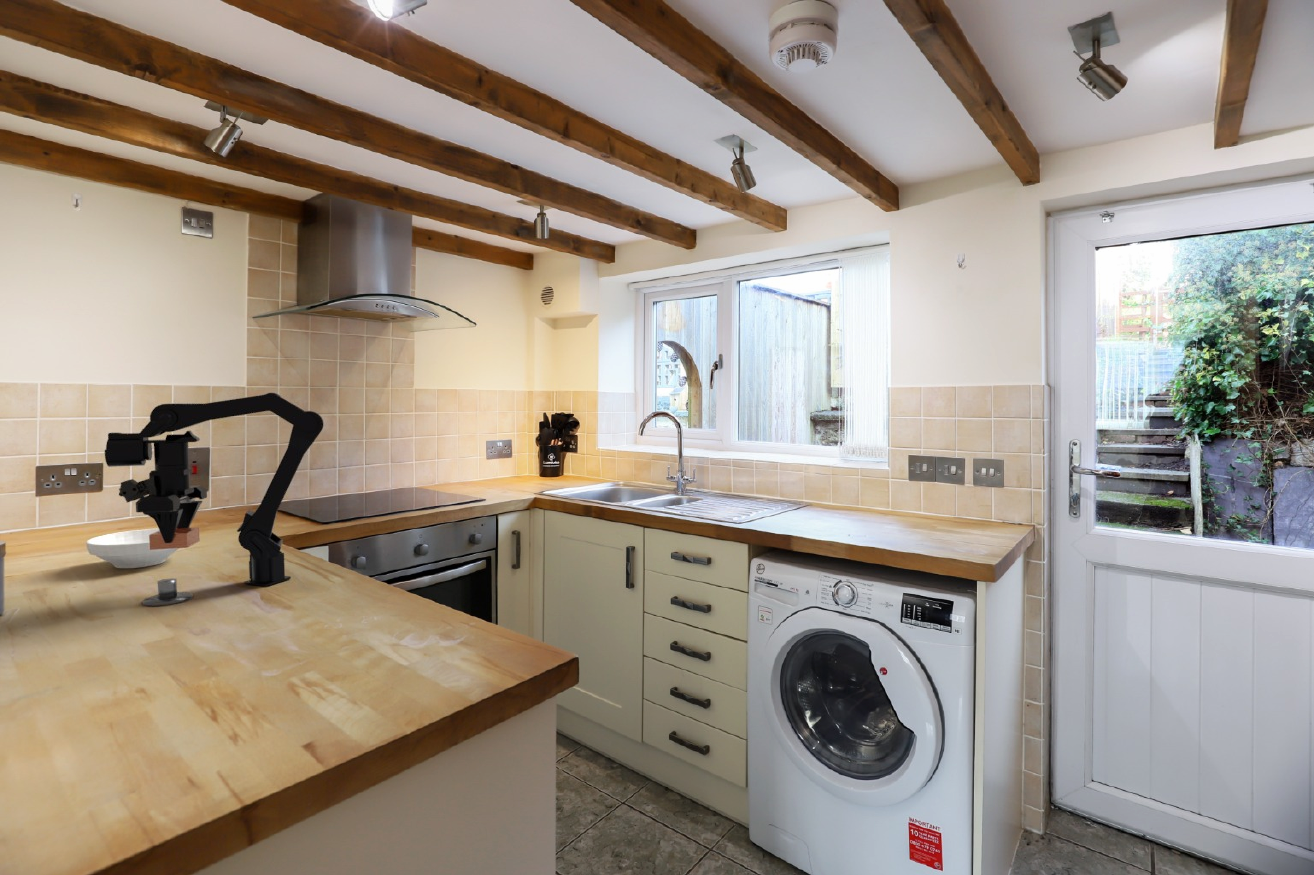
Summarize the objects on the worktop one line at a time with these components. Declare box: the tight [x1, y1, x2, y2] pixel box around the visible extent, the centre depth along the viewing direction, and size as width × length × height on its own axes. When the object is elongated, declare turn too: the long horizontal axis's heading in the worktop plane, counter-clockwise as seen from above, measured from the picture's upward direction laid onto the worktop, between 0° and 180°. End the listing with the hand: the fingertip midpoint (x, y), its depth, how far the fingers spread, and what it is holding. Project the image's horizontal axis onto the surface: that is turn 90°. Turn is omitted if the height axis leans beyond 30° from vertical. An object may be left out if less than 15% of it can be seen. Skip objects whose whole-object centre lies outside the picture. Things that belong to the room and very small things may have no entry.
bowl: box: [85, 527, 180, 569], centre depth 159 cm, size 20×20×7 cm
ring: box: [149, 526, 201, 550], centre depth 136 cm, size 6×6×3 cm
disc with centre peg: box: [142, 577, 194, 607], centre depth 131 cm, size 8×8×4 cm
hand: (175, 539), depth 136 cm, fingers closed on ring, 6 cm apart
